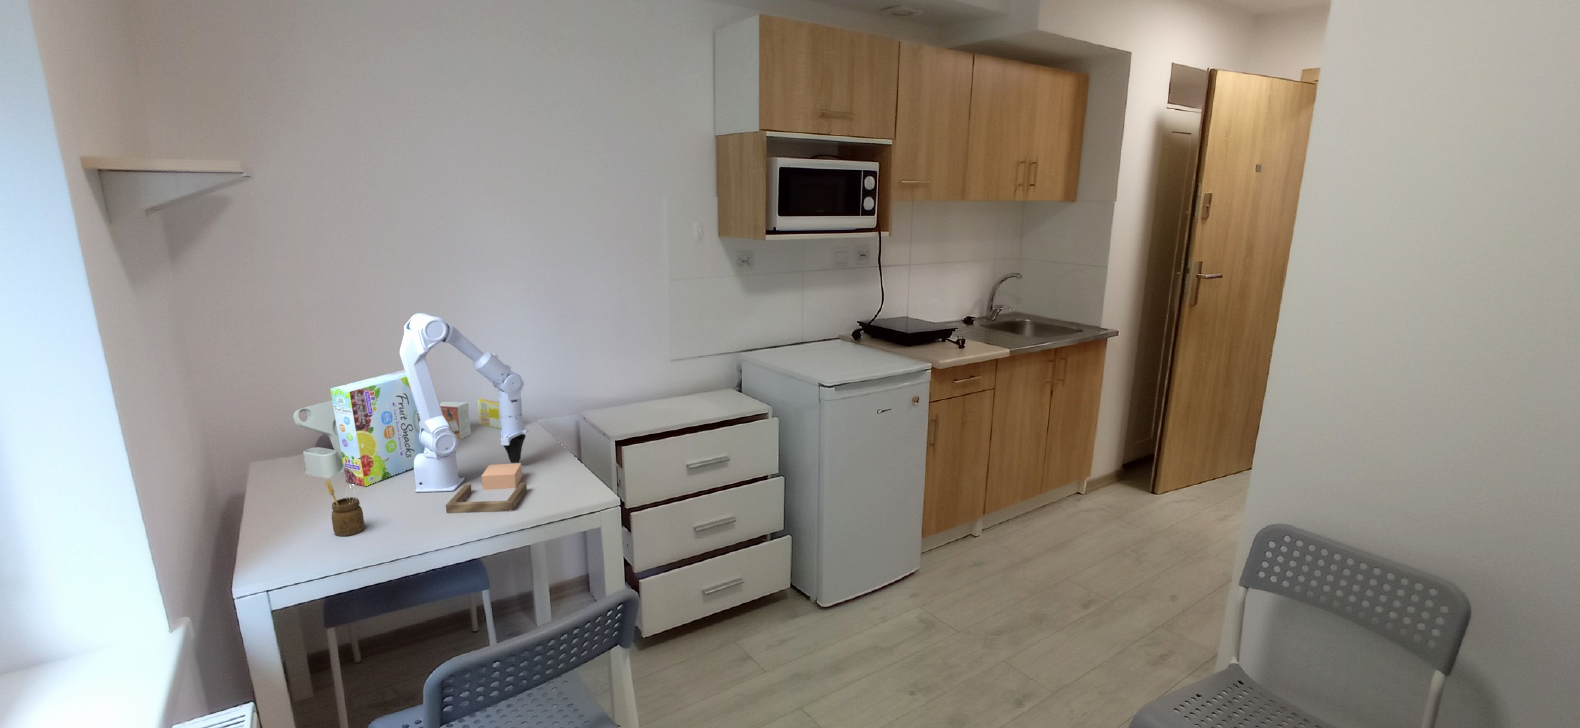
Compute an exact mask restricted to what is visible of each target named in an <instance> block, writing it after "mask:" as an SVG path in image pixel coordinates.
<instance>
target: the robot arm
mask: <svg viewBox="0 0 1580 728" xmlns="http://www.w3.org/2000/svg"><path fill="white" fill-rule="evenodd" d="M403 329H404V333H403V338H402V341H401V345H400V348H399V357H400V360H401V362H402V366H403V370H405V372H406V376H407V379H408V382H409V385H410V388H411V391H412V394H413V398H414V401H415V404H416V407H417V410H418V413H419V416H420V422H419V427H420V434H419V440H420V443H421V444H422V445H423V446H425V450H424V453H420V454H417V456H416V457H415V460H414V468H413V471H414V472H413V473H414V481H415V490H414V491H415V493H427V492H429V493H430V492H435V493H436V492H454V491H455V490H456V489H457V488H458V487H459V486H460V485H461V484H462V483H463V482H464V481H465V477H459V472H458V464H457V463H458V461H457V453H456V449H457V447H458V445H459V444H458V443H459V440H458V439H457V436H456V435H455V434H454V433H453V432H452V431H451V429H450V427H449V424H448V423H447V421H446V420H445V418H444V416H443V414H442V411H441V407H440V401H439V398H438V395H437V392H436V388H435V385H434V381H433V379H432V376H431V372H430V369H429V365H428V361H427V359H426V356H427V355H428V354H429V352H430V351H431V350H432V349H433V348H434V347H436V346H437V345H438V344H440V343H441V342H442V343H445V344H450V345H451V346H452V347H454V348H455V349H457V351H459V352H460V353H462V354H463V355H465V356H466V357H467V358H469V359H470V360H471V361H472V365H473V369H474V370H475V371H477V372H478V373H479V374H481V375H482V376H483V377H484V378H485V379H487V380H488V381H489V382H490V383H491V384H492V385H493V387H494V388H495V389H497V398H498V399H497V400H498V403H499V412H500V423H501V429H500V436H501V438H500V446H503V448H504V449H505V452H506V453H507V456H508V459H509V462H510V464H517V463H520V461H521V457H522V450H523V445H524V443H525V439H526V434H527V433H528V432H529V428H525V422H524V417H523V407H522V405H523V404H522V394H521V392H522V390H523V389H524V385H525V381H524V380H523V379H522V376H521V375H520V374H519V373H517V372H515V371H512V370H511V369H512V367H511V366H510V365H509V364H505V363H504V362H503V361H501V360H500V359H499V355H498V354H497V353H496V352H490V351H482V350H481V349H479V348H478V346H476V345H475V344H474V343H473V342H472V341H471V340H470V339H469V338H468V337H466V336H465V335H464V334H463V333H462V332H461V331H459V330H458V329H457V328H456V327H454V326H453V325H452V324H451V323H449V322H446V320H444V319H443V318H441V317H439V316H433V315H430V314H428V313H425V312H418V313H415V314H413V315H412V316H411V317H410V318H409V320H408V321H407V322H406V323H405V324H404V326H403Z"/></svg>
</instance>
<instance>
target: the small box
mask: <svg viewBox="0 0 1580 728" xmlns="http://www.w3.org/2000/svg"><path fill="white" fill-rule="evenodd" d="M439 404H440V407H441V411H442V414H443V416H444V418H445V420H446V421H447V423H448V424H449V427H450V429H451V431H452V432H453V433H454V434H455V435H456V436H457V439H461V440H463V439H464V437H465V438H466V436H467V437H468V435H469V436H470V435H471V434H472V431H471V430H472V429H471V422H470V409H469V402H467V401H464V402H462V401H461V402H459V401H449V400H446V401H445V400H444V401H442V402H439ZM462 438H463V439H462Z"/></svg>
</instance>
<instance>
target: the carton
mask: <svg viewBox="0 0 1580 728" xmlns="http://www.w3.org/2000/svg"><path fill="white" fill-rule="evenodd" d="M521 477H522V478H523V471H522V463H521V462H519V463H502V464H501V463H500V464H488V466H487V468H486V469H485V470H484V472H483V473H482V474H481V485H482V491H490V490H504V489H506V490H507V489H508V488H509V489H516V488H517V487H518V485H519V484H520V482H521V479H522V478H521ZM519 481H520V482H519Z"/></svg>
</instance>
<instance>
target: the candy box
mask: <svg viewBox="0 0 1580 728" xmlns="http://www.w3.org/2000/svg"><path fill="white" fill-rule="evenodd" d="M476 401H477V415H478V424H479V425H483V426H487V427H490V426H491V428H493V429H494V428H495V429H498V430H501V423H500V412H499V401H498V402H497V401H493V400H488V399H484V398H479V399H477V400H476Z"/></svg>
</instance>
